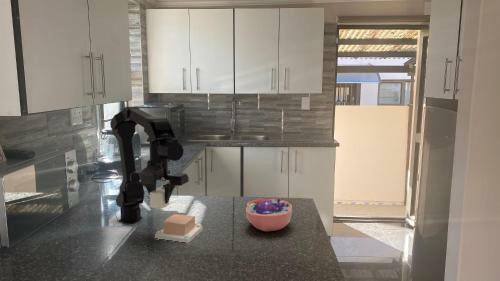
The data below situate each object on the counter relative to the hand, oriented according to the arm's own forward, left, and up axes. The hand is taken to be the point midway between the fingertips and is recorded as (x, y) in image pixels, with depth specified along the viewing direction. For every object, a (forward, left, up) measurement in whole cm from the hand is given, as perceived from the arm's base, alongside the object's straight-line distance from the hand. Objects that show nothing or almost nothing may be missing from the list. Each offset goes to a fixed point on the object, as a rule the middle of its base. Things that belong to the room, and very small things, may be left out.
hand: (160, 202), depth 123 cm
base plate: (+5, +4, -12) cm, 14 cm away
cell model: (+33, +19, -12) cm, 40 cm away
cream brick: (0, 0, -1) cm, 1 cm away
